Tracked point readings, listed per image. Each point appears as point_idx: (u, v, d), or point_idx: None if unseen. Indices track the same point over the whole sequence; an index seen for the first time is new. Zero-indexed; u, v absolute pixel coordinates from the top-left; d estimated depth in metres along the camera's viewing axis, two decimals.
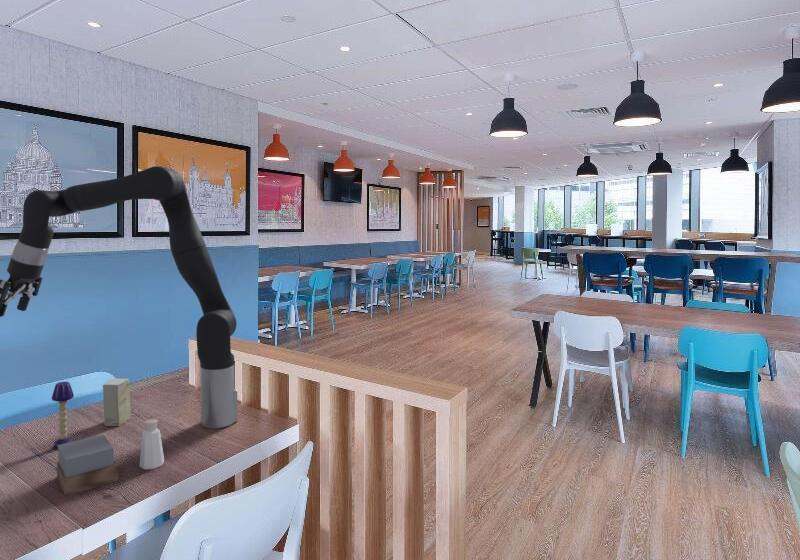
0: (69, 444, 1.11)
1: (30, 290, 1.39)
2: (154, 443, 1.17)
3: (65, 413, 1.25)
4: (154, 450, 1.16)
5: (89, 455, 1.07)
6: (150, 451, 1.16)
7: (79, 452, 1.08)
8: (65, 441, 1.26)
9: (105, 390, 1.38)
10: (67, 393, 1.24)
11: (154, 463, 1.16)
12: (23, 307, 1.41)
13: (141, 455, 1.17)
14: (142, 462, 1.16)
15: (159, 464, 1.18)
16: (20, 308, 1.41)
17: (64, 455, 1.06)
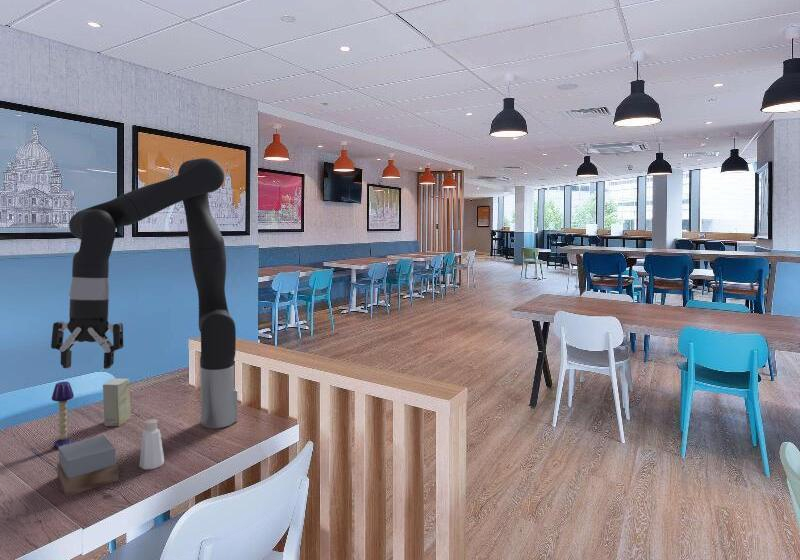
0: (70, 445, 1.11)
1: None
2: (154, 443, 1.17)
3: (65, 413, 1.25)
4: (154, 450, 1.16)
5: (91, 455, 1.07)
6: (150, 451, 1.16)
7: (81, 453, 1.07)
8: (65, 441, 1.26)
9: (105, 390, 1.38)
10: (67, 393, 1.24)
11: (154, 463, 1.16)
12: (70, 362, 1.12)
13: (141, 455, 1.17)
14: (142, 462, 1.16)
15: (159, 464, 1.18)
16: (68, 365, 1.12)
17: (66, 456, 1.06)
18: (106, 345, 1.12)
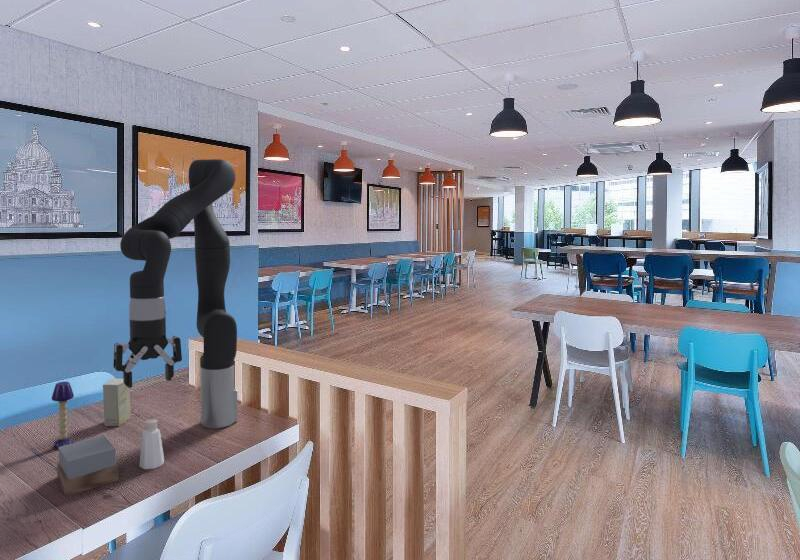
0: (70, 445, 1.11)
1: None
2: (154, 443, 1.17)
3: (65, 413, 1.25)
4: (154, 450, 1.16)
5: (91, 456, 1.07)
6: (150, 451, 1.16)
7: (81, 454, 1.07)
8: (65, 441, 1.26)
9: (105, 390, 1.38)
10: (67, 393, 1.24)
11: (154, 463, 1.16)
12: None
13: (141, 455, 1.17)
14: (142, 462, 1.16)
15: (159, 464, 1.18)
16: None
17: (66, 457, 1.06)
18: (170, 359, 1.18)
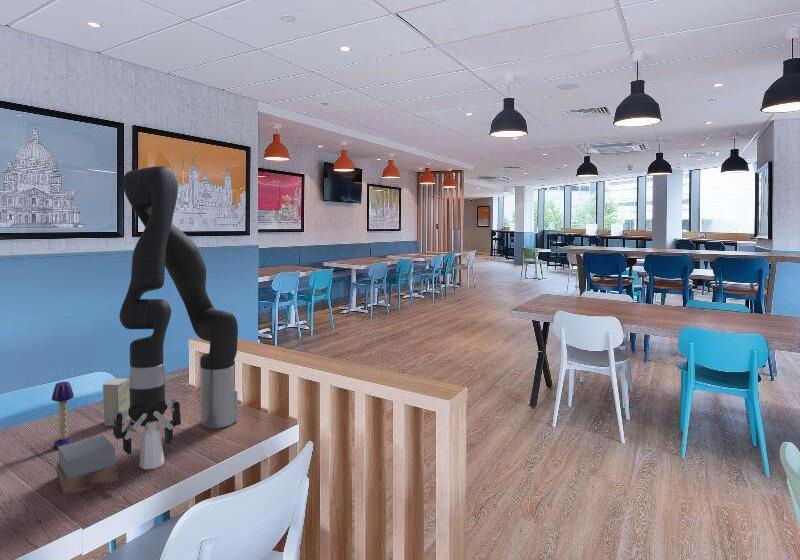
0: (69, 445, 1.11)
1: None
2: (154, 443, 1.17)
3: (65, 413, 1.25)
4: (154, 450, 1.16)
5: (91, 455, 1.07)
6: (150, 451, 1.16)
7: (81, 453, 1.07)
8: (65, 441, 1.26)
9: (105, 390, 1.38)
10: (67, 393, 1.24)
11: (154, 463, 1.16)
12: None
13: (141, 455, 1.17)
14: (142, 462, 1.16)
15: (159, 464, 1.18)
16: None
17: (65, 456, 1.06)
18: (169, 423, 1.19)
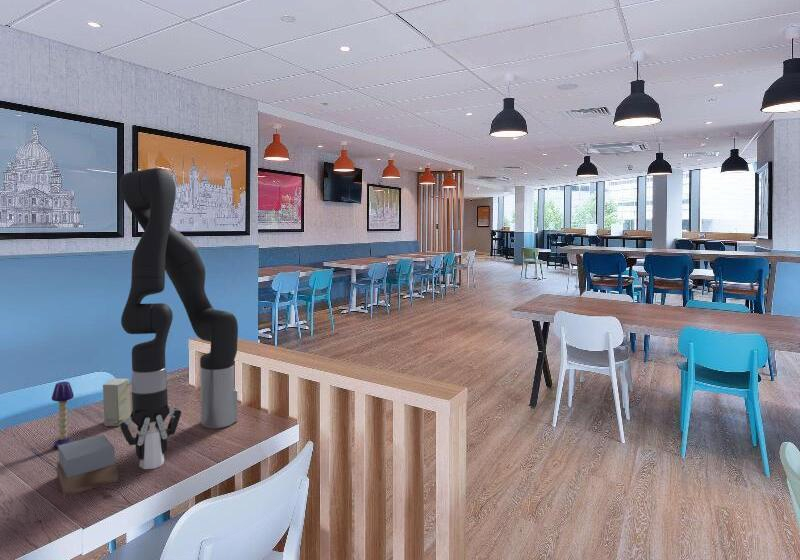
0: (69, 444, 1.11)
1: None
2: (154, 443, 1.17)
3: (65, 413, 1.25)
4: (154, 450, 1.16)
5: (90, 455, 1.07)
6: (150, 451, 1.16)
7: (80, 452, 1.07)
8: (65, 441, 1.26)
9: (105, 390, 1.38)
10: (67, 393, 1.24)
11: (154, 463, 1.16)
12: None
13: None
14: (142, 462, 1.16)
15: (159, 464, 1.18)
16: None
17: (65, 455, 1.06)
18: (165, 432, 1.19)
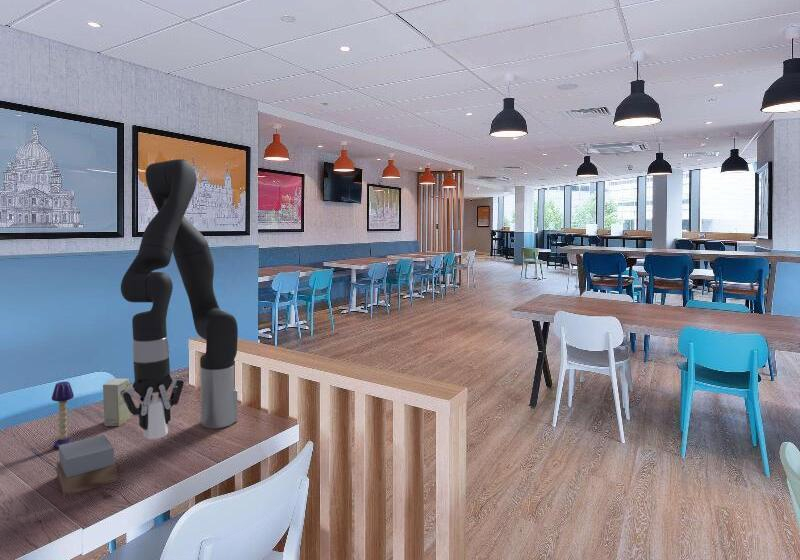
0: (70, 444, 1.11)
1: None
2: (158, 413, 1.16)
3: (65, 413, 1.25)
4: (158, 420, 1.16)
5: (89, 455, 1.07)
6: (154, 421, 1.15)
7: (80, 452, 1.08)
8: (65, 441, 1.26)
9: (105, 390, 1.38)
10: (67, 393, 1.24)
11: (158, 433, 1.16)
12: None
13: None
14: (146, 432, 1.16)
15: (164, 434, 1.17)
16: None
17: (65, 455, 1.06)
18: (168, 402, 1.18)
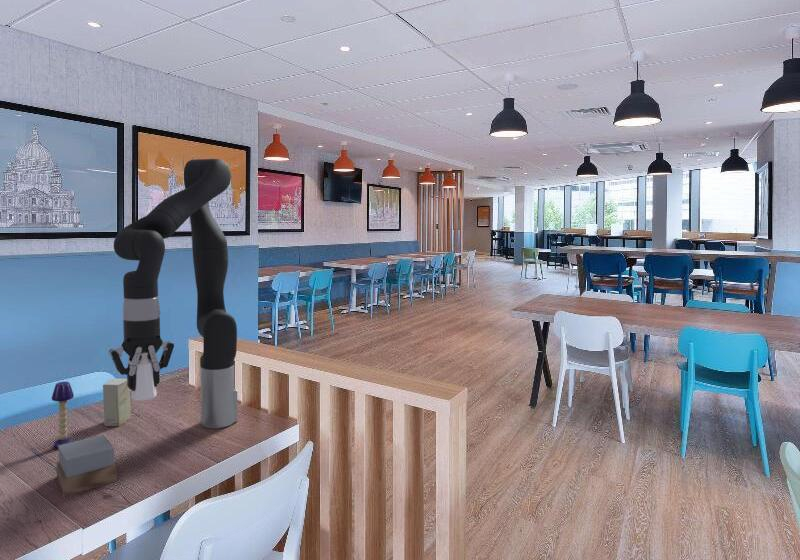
0: (69, 444, 1.11)
1: None
2: (146, 374, 1.14)
3: (65, 413, 1.25)
4: (146, 381, 1.14)
5: (89, 455, 1.07)
6: (142, 382, 1.13)
7: (80, 452, 1.08)
8: (65, 441, 1.26)
9: (105, 390, 1.38)
10: (67, 393, 1.24)
11: (145, 394, 1.14)
12: None
13: None
14: (134, 393, 1.14)
15: (152, 396, 1.15)
16: None
17: (65, 455, 1.06)
18: (157, 364, 1.16)
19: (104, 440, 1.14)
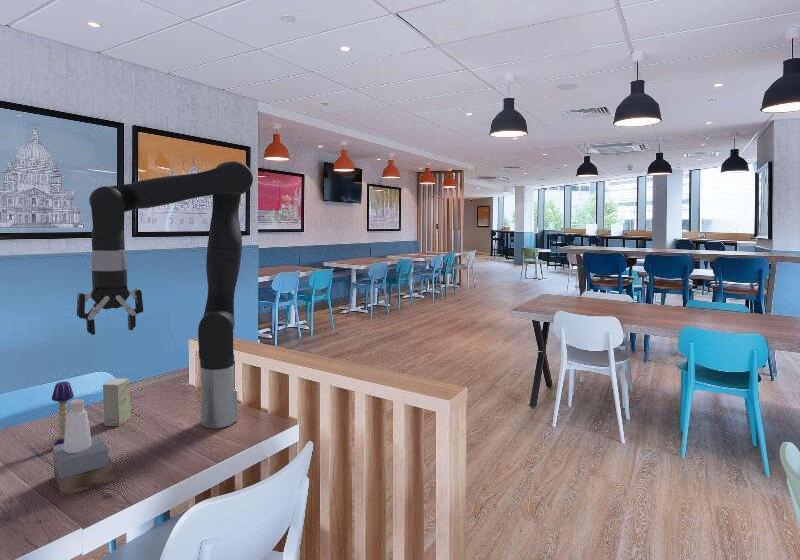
0: None
1: None
2: (80, 425, 1.08)
3: (65, 413, 1.25)
4: (80, 433, 1.07)
5: (83, 456, 1.07)
6: (75, 434, 1.07)
7: (74, 453, 1.07)
8: None
9: (105, 390, 1.38)
10: (67, 393, 1.24)
11: (79, 446, 1.07)
12: None
13: (65, 438, 1.07)
14: (66, 446, 1.07)
15: (86, 448, 1.09)
16: None
17: (58, 456, 1.06)
18: (131, 309, 1.25)
19: (99, 441, 1.13)
